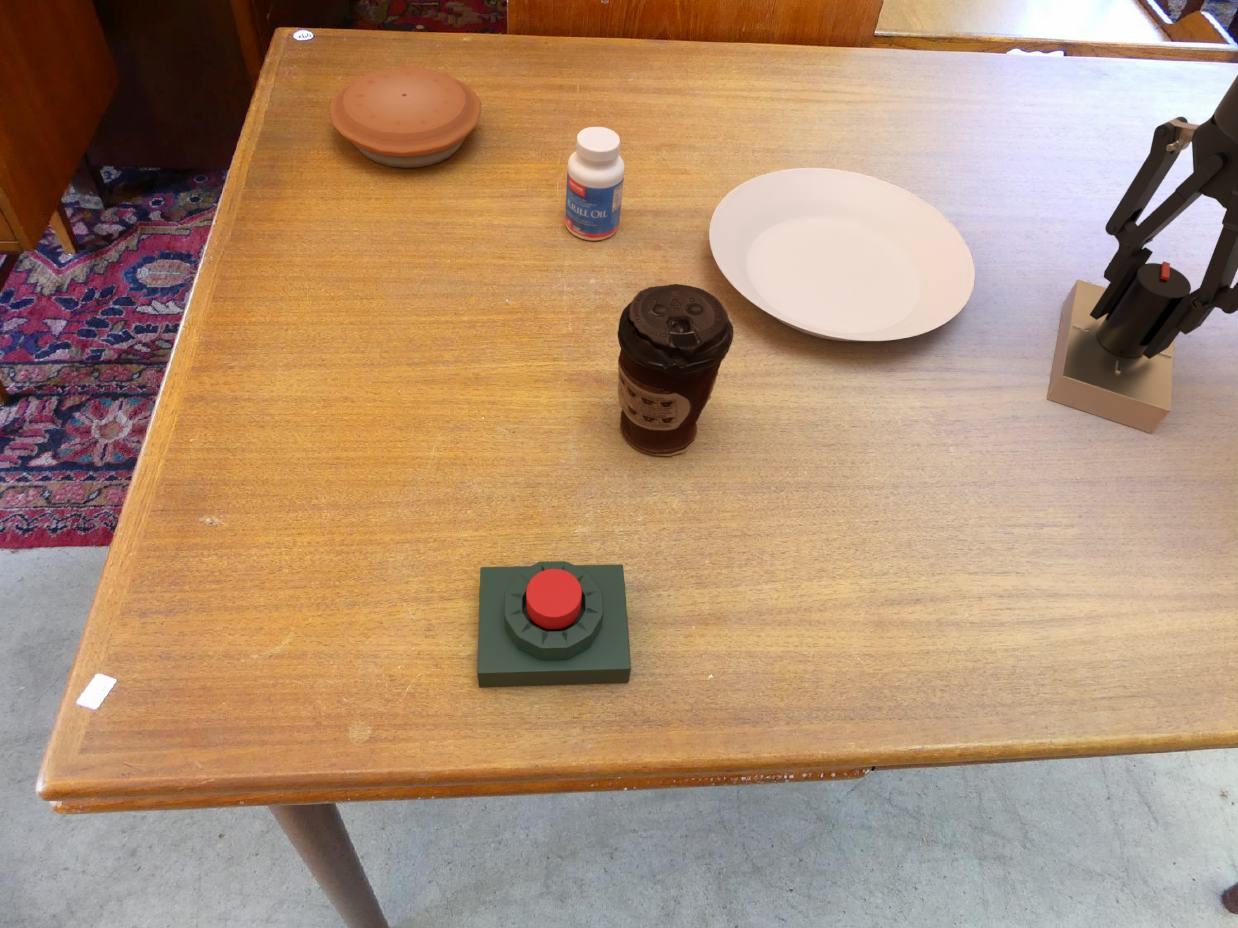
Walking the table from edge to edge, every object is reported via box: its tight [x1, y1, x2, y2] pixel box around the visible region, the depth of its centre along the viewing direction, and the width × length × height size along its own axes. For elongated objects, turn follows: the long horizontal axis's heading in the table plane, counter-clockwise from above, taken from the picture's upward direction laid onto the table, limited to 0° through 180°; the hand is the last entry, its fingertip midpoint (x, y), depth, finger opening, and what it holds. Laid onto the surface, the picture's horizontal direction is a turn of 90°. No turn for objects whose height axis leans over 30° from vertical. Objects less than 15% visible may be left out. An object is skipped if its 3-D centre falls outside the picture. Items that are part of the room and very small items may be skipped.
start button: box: [526, 569, 582, 630], centre depth 60 cm, size 4×4×2 cm
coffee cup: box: [617, 283, 734, 457], centre depth 70 cm, size 9×8×13 cm
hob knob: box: [1097, 261, 1192, 358], centre depth 79 cm, size 4×4×7 cm
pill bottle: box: [564, 126, 626, 242], centre depth 87 cm, size 6×5×10 cm
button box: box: [476, 560, 632, 688], centre depth 62 cm, size 10×8×4 cm
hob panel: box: [1046, 279, 1175, 434], centre depth 83 cm, size 14×9×3 cm, turn 157°
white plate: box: [708, 167, 976, 343], centre depth 88 cm, size 25×25×4 cm
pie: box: [328, 66, 482, 169], centre depth 96 cm, size 15×16×5 cm
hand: (1128, 330), depth 81 cm, fingers open, 5 cm apart
